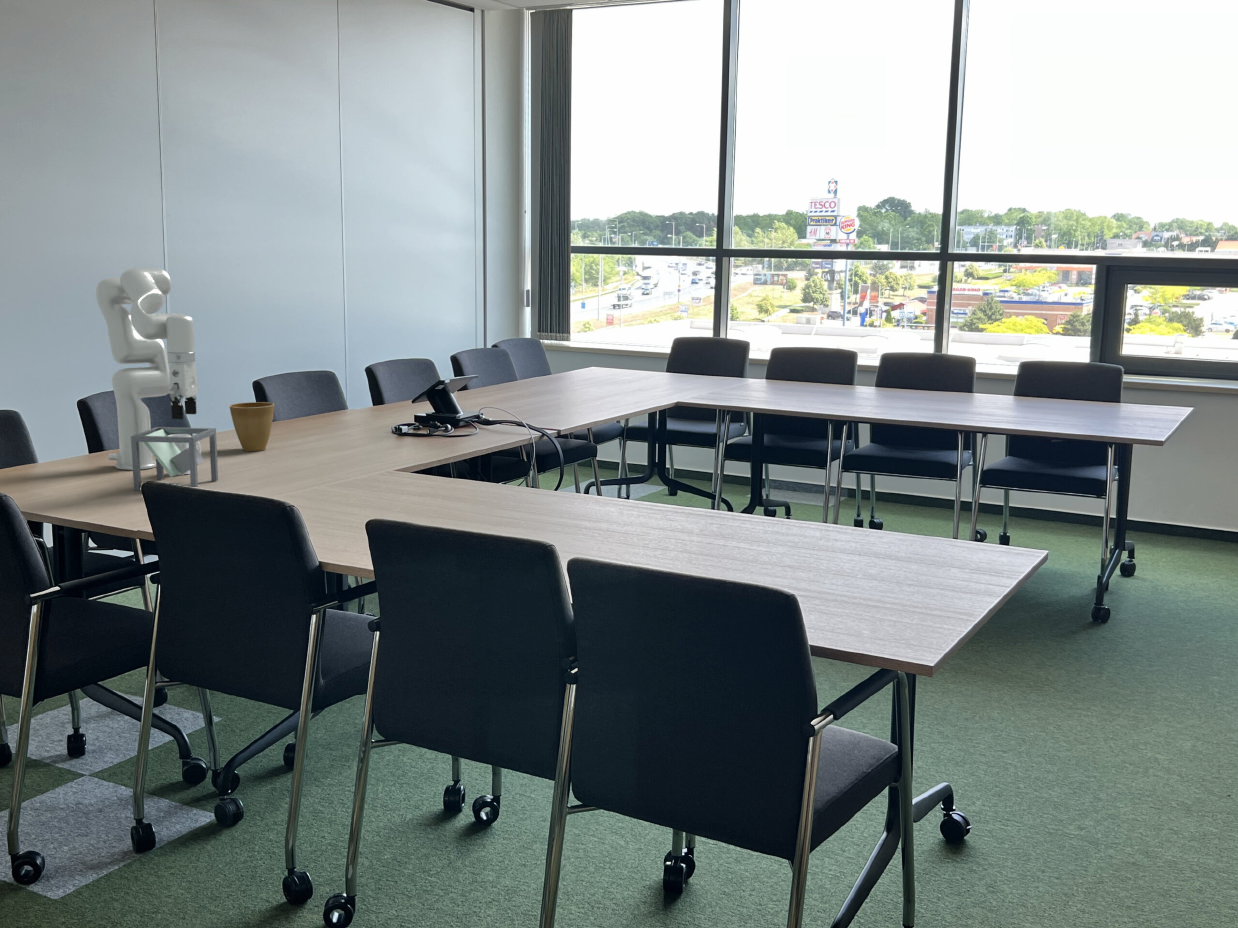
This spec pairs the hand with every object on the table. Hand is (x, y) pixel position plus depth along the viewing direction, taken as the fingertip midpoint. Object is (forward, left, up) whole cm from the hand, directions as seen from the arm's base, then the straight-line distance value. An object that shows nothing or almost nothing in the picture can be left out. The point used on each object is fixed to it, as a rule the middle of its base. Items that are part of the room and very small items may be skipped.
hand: (184, 416), depth 336 cm
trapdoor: (-6, 0, -11) cm, 13 cm away
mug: (-8, +19, -21) cm, 29 cm away
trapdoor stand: (-3, 0, -21) cm, 21 cm away
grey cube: (-2, 0, -15) cm, 15 cm away
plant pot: (-1, +62, -21) cm, 65 cm away
